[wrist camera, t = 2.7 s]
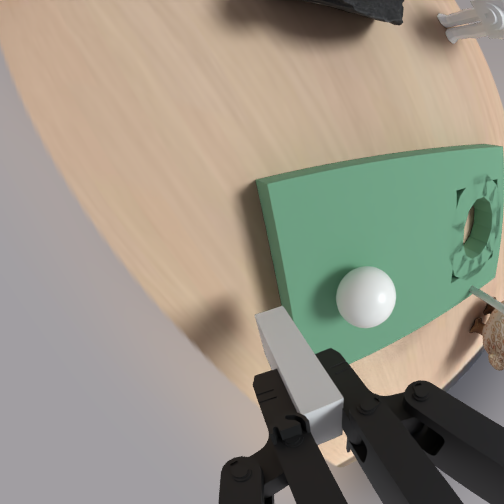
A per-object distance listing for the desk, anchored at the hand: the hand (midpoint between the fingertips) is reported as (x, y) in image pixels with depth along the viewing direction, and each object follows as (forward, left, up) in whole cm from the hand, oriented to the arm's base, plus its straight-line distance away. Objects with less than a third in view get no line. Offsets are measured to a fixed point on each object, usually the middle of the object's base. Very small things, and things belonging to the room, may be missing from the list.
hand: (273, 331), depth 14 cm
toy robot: (-19, +24, -4) cm, 31 cm away
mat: (0, +14, -4) cm, 14 cm away
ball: (0, +6, 0) cm, 6 cm away
